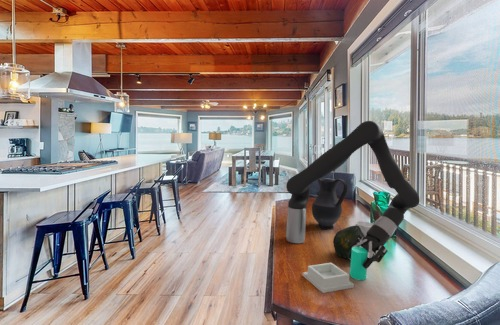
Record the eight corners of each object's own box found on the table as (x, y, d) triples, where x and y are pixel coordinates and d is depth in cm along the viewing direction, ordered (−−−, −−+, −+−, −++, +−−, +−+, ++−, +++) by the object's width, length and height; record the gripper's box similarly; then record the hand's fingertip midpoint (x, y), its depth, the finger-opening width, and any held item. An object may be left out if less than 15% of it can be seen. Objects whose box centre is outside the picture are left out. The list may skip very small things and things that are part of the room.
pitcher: (322, 221, 185) (325, 174, 182) (352, 230, 169) (355, 179, 167) (305, 225, 174) (307, 176, 171) (334, 235, 158) (338, 181, 155)
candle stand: (302, 275, 110) (303, 264, 109) (331, 271, 114) (331, 260, 114) (322, 293, 98) (323, 281, 97) (353, 287, 102) (354, 275, 102)
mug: (373, 250, 139) (375, 227, 138) (354, 247, 142) (355, 225, 141) (372, 242, 150) (373, 221, 149) (354, 239, 153) (355, 218, 152)
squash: (321, 241, 133) (343, 222, 124) (340, 236, 142) (361, 218, 134) (340, 269, 125) (364, 251, 117) (358, 262, 135) (381, 245, 127)
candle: (353, 271, 115) (355, 241, 114) (368, 276, 111) (370, 245, 110) (347, 276, 111) (349, 245, 110) (363, 281, 107) (365, 250, 106)
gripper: (363, 219, 119) (338, 249, 116) (391, 230, 105) (364, 264, 102) (372, 230, 121) (348, 260, 118) (401, 242, 108) (375, 276, 105)
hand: (356, 262), depth 110 cm, fingers open, 8 cm apart
